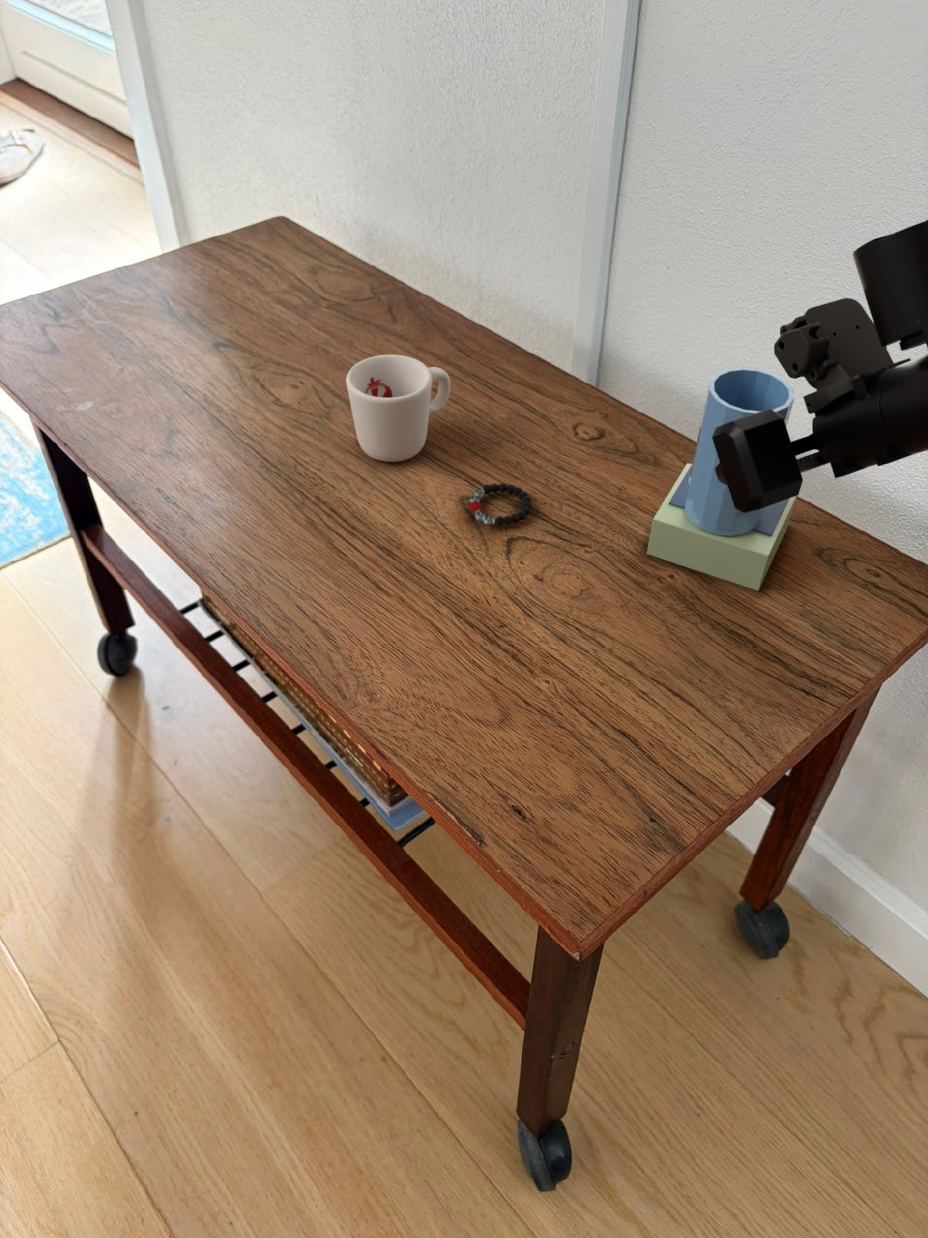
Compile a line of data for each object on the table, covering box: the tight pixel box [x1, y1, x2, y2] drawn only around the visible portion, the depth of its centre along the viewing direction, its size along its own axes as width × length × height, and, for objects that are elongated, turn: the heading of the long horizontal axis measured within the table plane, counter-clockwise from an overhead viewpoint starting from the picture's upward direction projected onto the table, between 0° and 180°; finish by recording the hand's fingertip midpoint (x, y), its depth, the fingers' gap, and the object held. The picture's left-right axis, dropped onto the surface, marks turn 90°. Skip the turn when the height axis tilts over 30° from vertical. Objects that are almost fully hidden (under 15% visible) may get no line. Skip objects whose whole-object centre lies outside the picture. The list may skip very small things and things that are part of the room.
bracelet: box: [469, 482, 533, 527], centre depth 93 cm, size 6×6×1 cm
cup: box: [345, 354, 451, 463], centre depth 98 cm, size 11×8×8 cm
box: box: [646, 462, 798, 592], centre depth 89 cm, size 10×9×4 cm
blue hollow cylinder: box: [684, 367, 795, 536], centre depth 83 cm, size 6×6×12 cm
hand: (765, 457), depth 80 cm, fingers open, 9 cm apart
